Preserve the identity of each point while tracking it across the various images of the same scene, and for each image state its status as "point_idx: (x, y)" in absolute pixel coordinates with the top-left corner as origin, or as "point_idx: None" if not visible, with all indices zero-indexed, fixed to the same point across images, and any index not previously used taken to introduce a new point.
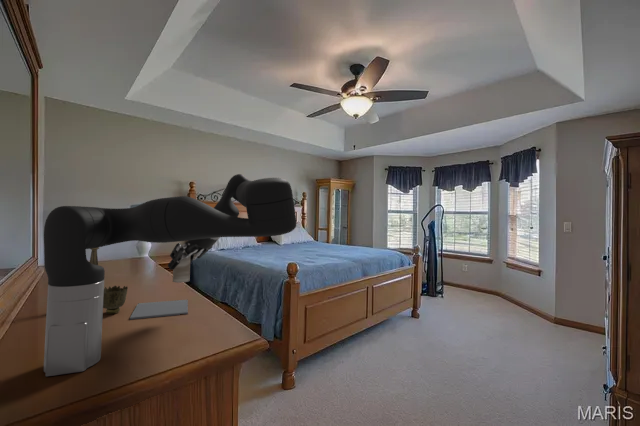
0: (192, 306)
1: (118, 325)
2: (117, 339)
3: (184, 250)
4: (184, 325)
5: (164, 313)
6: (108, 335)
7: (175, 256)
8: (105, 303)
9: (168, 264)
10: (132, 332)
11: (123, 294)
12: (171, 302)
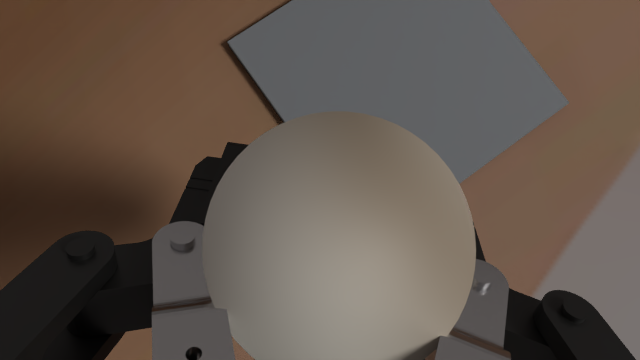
0: (491, 188)
1: (155, 55)
2: (16, 175)
3: (250, 351)
4: None
5: None
6: (46, 107)
7: (82, 318)
8: None
9: (194, 171)
10: (95, 174)
11: None
12: (491, 57)
